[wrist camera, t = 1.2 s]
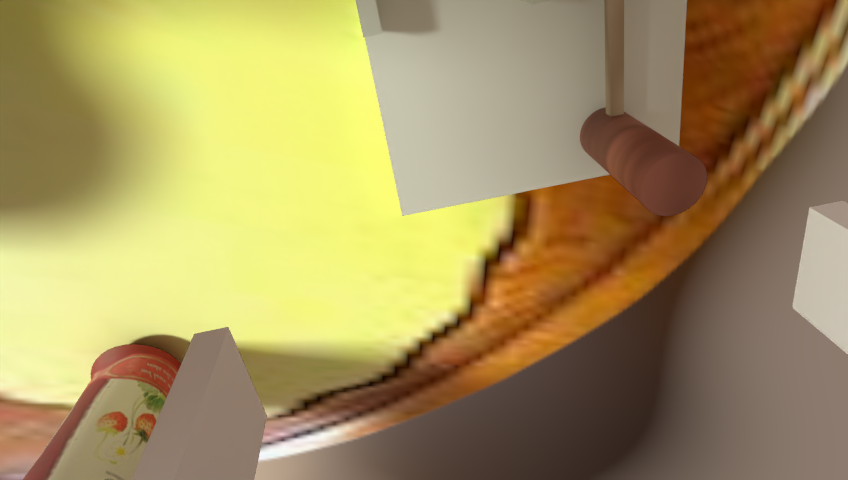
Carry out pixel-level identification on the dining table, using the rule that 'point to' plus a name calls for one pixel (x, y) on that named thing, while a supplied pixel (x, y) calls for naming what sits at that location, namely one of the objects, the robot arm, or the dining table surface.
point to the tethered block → (638, 139)
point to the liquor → (110, 417)
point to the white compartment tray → (510, 89)
